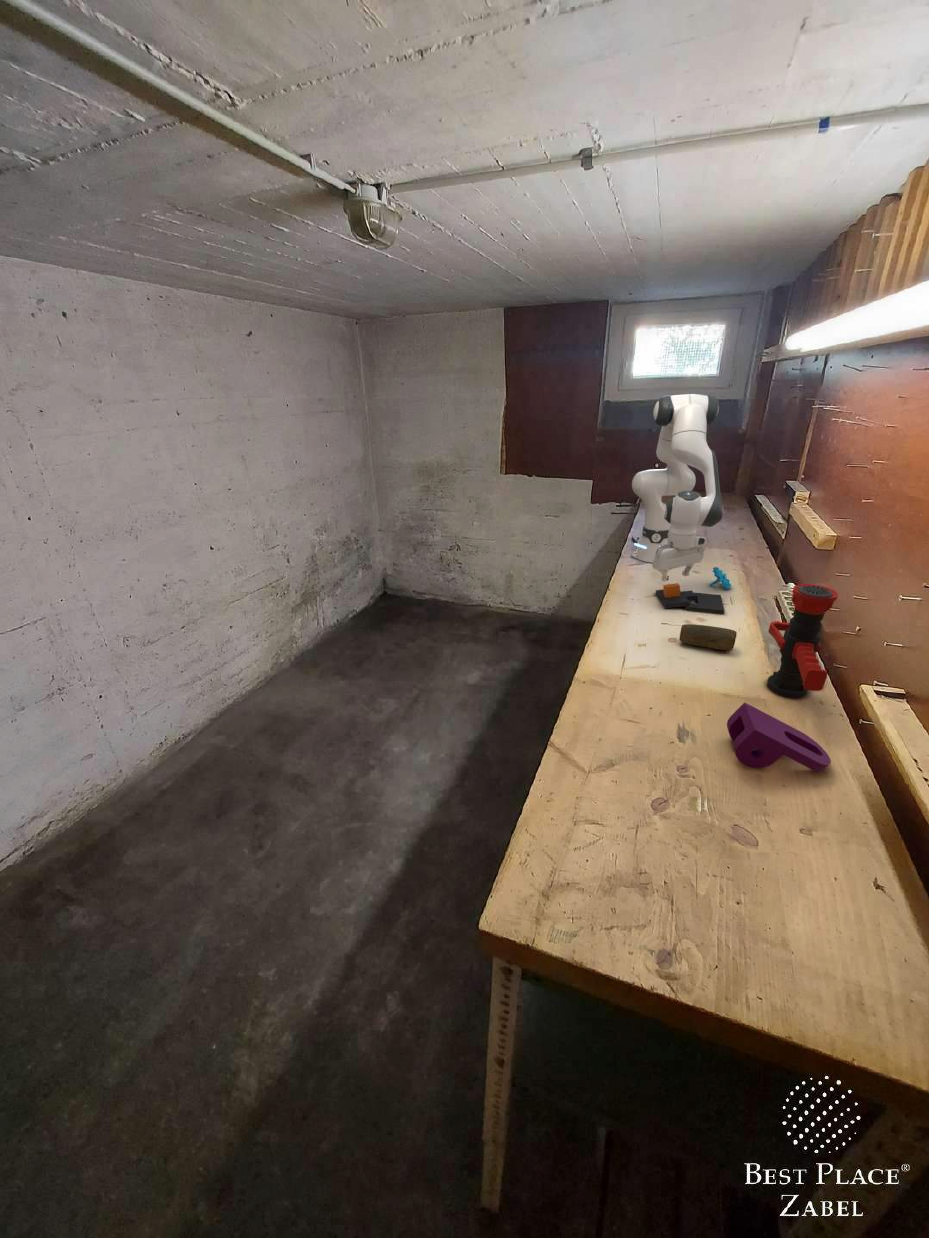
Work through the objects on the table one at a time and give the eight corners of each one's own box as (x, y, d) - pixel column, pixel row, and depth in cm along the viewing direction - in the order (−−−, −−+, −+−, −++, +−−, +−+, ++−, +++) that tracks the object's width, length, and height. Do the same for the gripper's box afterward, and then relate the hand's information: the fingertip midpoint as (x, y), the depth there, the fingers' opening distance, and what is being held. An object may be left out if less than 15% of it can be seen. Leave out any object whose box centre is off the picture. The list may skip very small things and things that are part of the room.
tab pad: (655, 593, 182) (655, 580, 180) (688, 589, 180) (688, 576, 178) (665, 608, 169) (664, 593, 167) (700, 604, 167) (700, 589, 165)
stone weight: (733, 644, 145) (737, 625, 142) (733, 655, 140) (738, 635, 137) (679, 636, 151) (682, 617, 148) (677, 646, 146) (681, 627, 143)
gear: (729, 590, 178) (713, 567, 180) (715, 598, 182) (699, 576, 184) (735, 584, 186) (720, 563, 188) (721, 592, 190) (706, 571, 192)
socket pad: (684, 595, 180) (684, 591, 179) (720, 598, 176) (720, 594, 175) (685, 610, 168) (685, 606, 167) (723, 614, 164) (724, 610, 163)
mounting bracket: (792, 766, 107) (719, 727, 108) (820, 742, 103) (744, 702, 104) (806, 797, 99) (727, 755, 100) (838, 773, 95) (754, 729, 96)
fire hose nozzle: (809, 613, 101) (780, 572, 123) (778, 718, 114) (756, 664, 135) (864, 617, 99) (825, 575, 120) (826, 725, 111) (796, 669, 132)
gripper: (664, 547, 159) (659, 586, 165) (710, 538, 166) (703, 575, 172) (651, 542, 165) (646, 580, 171) (695, 533, 172) (689, 570, 178)
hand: (675, 577), depth 172 cm, fingers open, 8 cm apart
